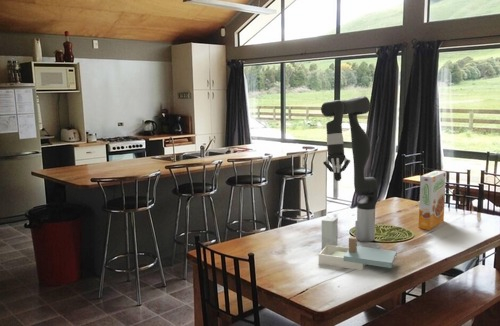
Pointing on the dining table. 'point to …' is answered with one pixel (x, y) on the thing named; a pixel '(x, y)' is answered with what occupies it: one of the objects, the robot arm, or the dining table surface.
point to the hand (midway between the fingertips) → (338, 180)
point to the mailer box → (337, 257)
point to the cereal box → (432, 199)
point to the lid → (368, 255)
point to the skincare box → (329, 231)
